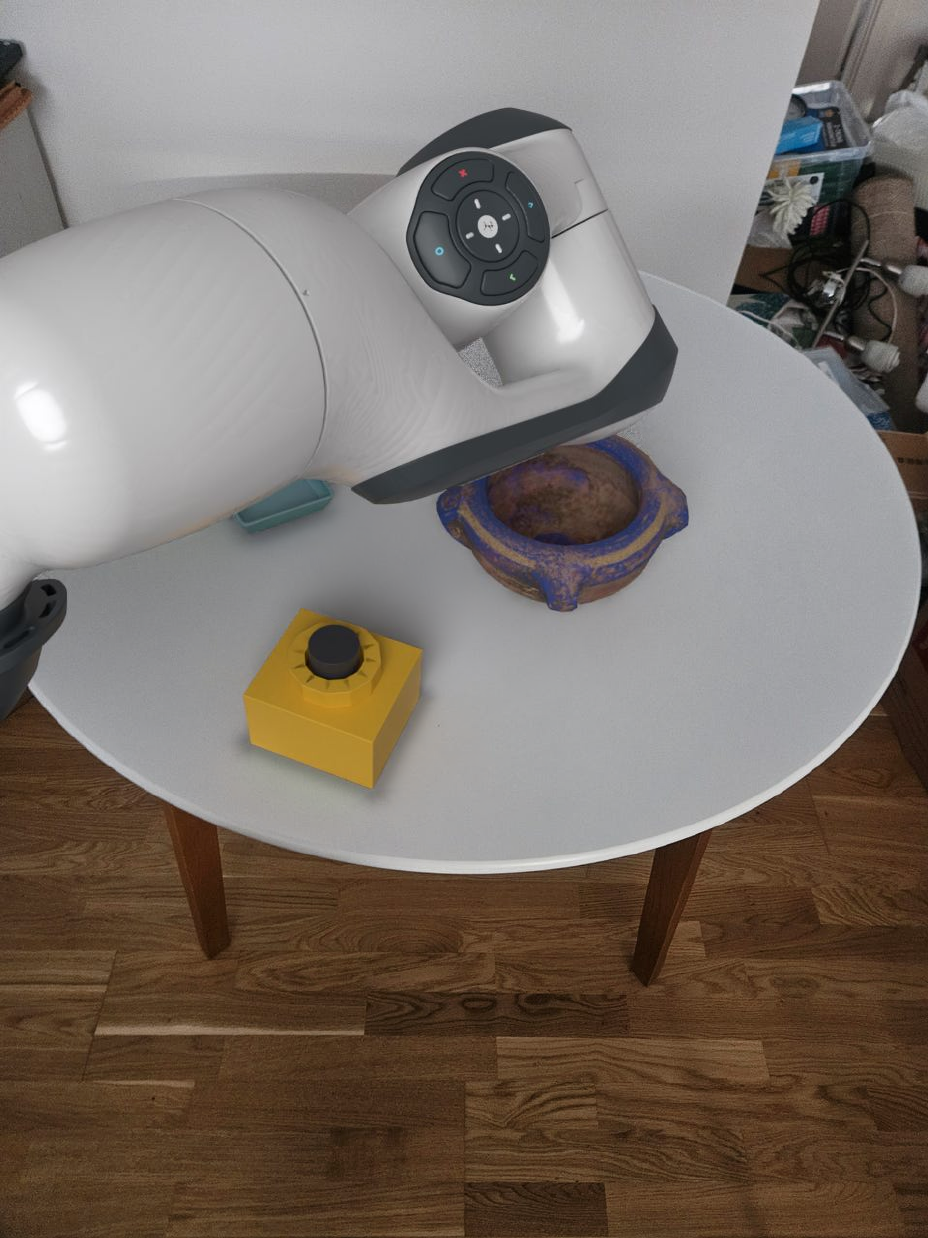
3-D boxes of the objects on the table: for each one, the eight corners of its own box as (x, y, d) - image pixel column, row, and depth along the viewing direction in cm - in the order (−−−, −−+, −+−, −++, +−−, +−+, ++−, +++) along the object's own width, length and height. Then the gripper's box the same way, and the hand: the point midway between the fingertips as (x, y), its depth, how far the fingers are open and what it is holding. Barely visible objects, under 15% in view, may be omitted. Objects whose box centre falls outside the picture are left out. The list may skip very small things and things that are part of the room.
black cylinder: (300, 669, 68) (298, 654, 67) (322, 633, 71) (322, 618, 69) (346, 686, 68) (346, 671, 66) (368, 649, 70) (368, 634, 69)
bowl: (409, 547, 87) (413, 462, 80) (553, 471, 96) (569, 387, 88) (544, 675, 79) (563, 593, 72) (689, 579, 88) (719, 497, 80)
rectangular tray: (142, 385, 100) (138, 364, 98) (227, 362, 103) (224, 342, 101) (244, 547, 86) (241, 527, 84) (337, 515, 90) (337, 495, 88)
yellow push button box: (250, 743, 73) (239, 679, 67) (305, 657, 79) (299, 591, 72) (372, 789, 71) (373, 728, 65) (419, 698, 77) (423, 633, 71)
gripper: (215, 445, 53) (149, 485, 65) (483, 321, 63) (384, 375, 75) (158, 337, 52) (101, 397, 64) (442, 228, 62) (347, 297, 74)
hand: (256, 384), depth 69 cm, fingers open, 8 cm apart
